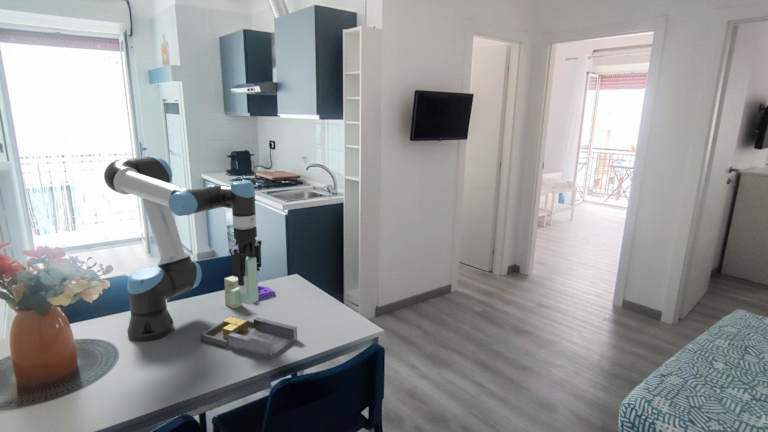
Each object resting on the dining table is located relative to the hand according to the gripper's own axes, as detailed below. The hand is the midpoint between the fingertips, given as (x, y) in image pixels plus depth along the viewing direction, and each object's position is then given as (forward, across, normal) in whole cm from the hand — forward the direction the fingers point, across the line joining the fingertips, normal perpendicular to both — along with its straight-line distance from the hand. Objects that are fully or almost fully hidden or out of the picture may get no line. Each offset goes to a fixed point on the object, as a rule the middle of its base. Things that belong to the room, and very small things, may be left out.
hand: (248, 290), depth 152 cm
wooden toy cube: (+18, -3, +7) cm, 20 cm away
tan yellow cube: (+18, +2, +7) cm, 19 cm away
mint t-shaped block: (+4, 0, 0) cm, 4 cm away
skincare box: (+19, +19, +26) cm, 37 cm away
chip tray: (+19, -1, +10) cm, 21 cm away
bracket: (+19, +32, +24) cm, 44 cm away
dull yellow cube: (+18, +2, +11) cm, 21 cm away
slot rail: (+19, -1, -6) cm, 20 cm away
